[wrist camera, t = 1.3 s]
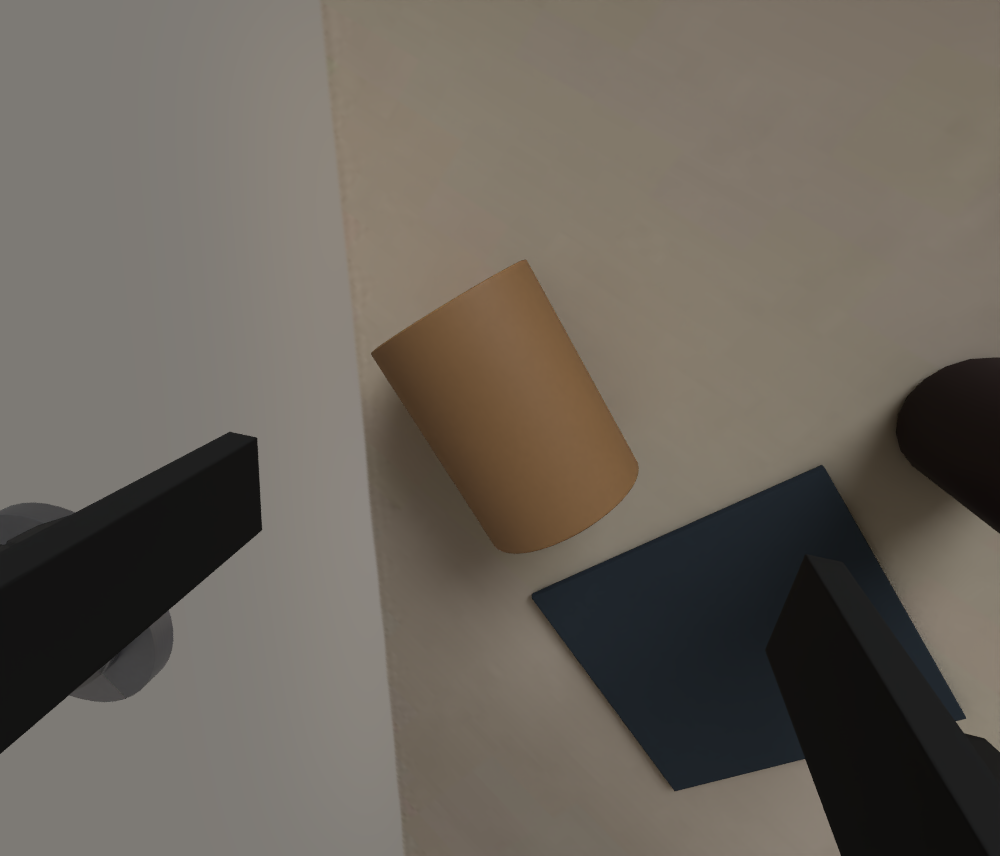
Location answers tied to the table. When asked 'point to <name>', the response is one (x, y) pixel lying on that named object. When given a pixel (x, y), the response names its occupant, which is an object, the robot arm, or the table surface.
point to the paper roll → (511, 412)
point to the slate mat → (717, 628)
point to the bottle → (958, 434)
